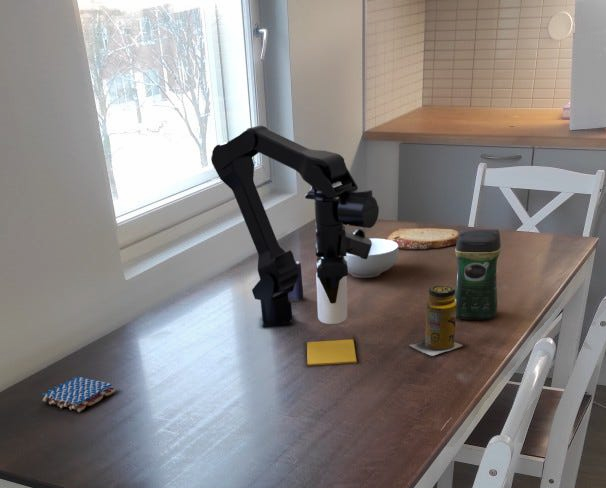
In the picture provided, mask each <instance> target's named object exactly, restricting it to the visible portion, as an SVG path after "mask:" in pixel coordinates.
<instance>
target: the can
mask: <svg viewBox="0 0 606 488" xmlns="http://www.w3.org/2000/svg"><path fill="white" fill-rule="evenodd" d="M315 279H316V305H317V306H316V307H317V319H318V321H319V322H320V323H322V324H323V325H327V326H336V325H341V324H344V323H345V321H346V320H347V319H348V276H344V277H343V278H342V279H341V280H340V282H339V287H338V293H337V298H336V303H330V301H329V299H328V296H327V294H326V292H325V290H324V288H323V286H322V284H321V282H320V280H319V278H318V277H317V272H316V274H315Z"/></svg>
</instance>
